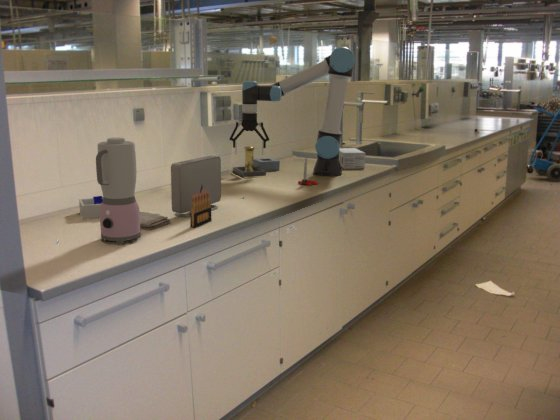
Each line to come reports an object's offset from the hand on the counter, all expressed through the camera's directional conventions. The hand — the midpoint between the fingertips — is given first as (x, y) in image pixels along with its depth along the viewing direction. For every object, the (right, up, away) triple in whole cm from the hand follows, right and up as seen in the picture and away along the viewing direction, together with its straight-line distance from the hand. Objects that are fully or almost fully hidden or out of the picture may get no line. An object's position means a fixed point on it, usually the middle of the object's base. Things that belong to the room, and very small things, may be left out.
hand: (249, 154), depth 285 cm
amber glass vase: (0, -10, +2) cm, 10 cm away
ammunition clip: (-12, -34, -89) cm, 96 cm away
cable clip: (-48, -30, -78) cm, 97 cm away
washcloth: (-33, -34, -90) cm, 101 cm away
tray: (0, -10, +3) cm, 11 cm away
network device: (-16, -29, -72) cm, 79 cm away
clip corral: (-48, -30, -78) cm, 97 cm away
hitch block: (+8, -7, +15) cm, 19 cm away
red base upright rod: (+30, -16, -16) cm, 37 cm away
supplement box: (+56, -3, +37) cm, 67 cm away
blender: (-35, -38, -110) cm, 122 cm away
